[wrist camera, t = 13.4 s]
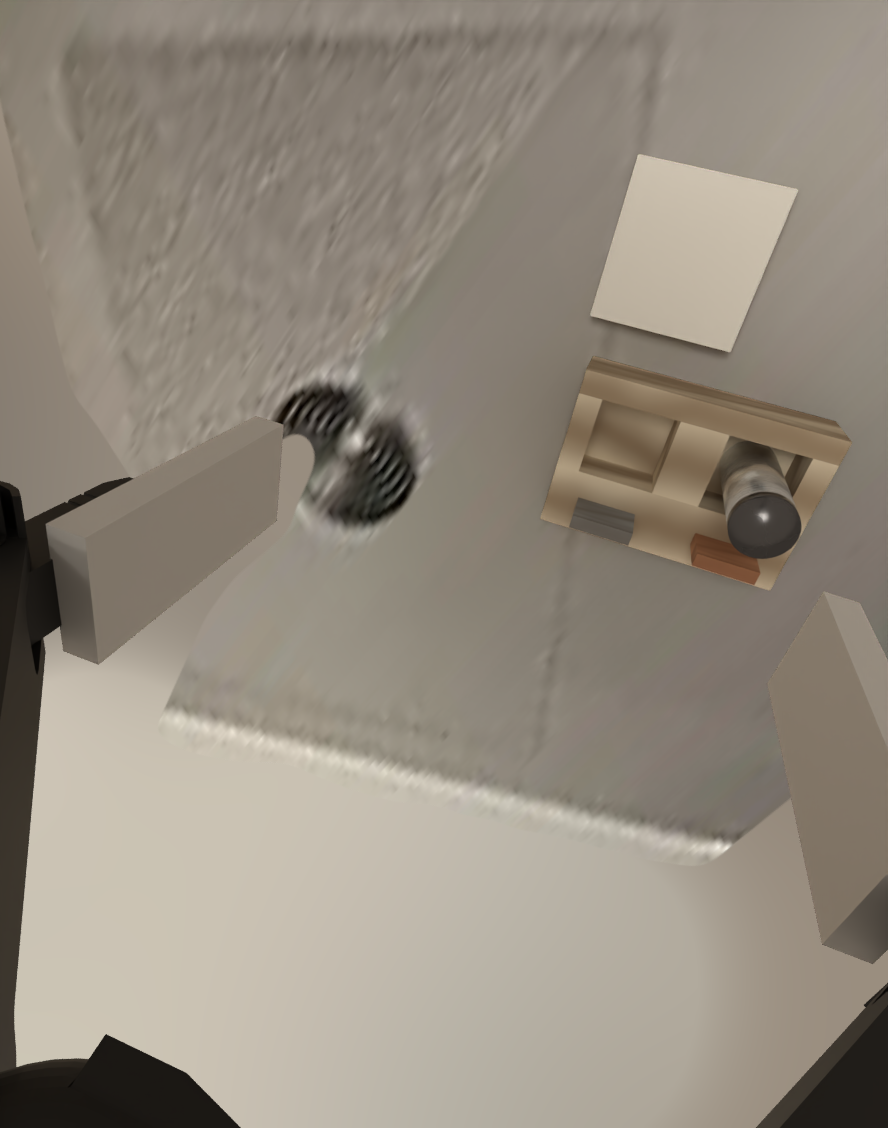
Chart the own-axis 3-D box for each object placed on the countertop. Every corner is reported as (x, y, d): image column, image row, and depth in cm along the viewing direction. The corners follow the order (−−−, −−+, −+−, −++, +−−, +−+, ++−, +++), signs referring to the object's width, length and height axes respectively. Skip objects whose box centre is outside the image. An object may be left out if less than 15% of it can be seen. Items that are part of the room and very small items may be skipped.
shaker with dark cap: (733, 433, 49) (746, 488, 39) (787, 450, 48) (814, 511, 38) (710, 481, 51) (716, 545, 41) (761, 498, 50) (781, 568, 40)
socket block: (593, 355, 50) (580, 380, 43) (835, 421, 47) (865, 459, 40) (549, 495, 56) (532, 537, 49) (761, 560, 54) (776, 615, 47)
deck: (639, 155, 44) (638, 153, 42) (793, 190, 42) (798, 189, 40) (592, 311, 49) (589, 315, 47) (727, 347, 47) (730, 352, 46)
